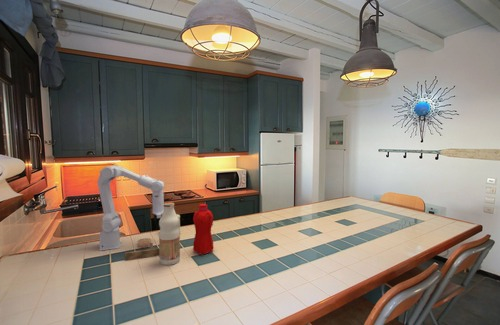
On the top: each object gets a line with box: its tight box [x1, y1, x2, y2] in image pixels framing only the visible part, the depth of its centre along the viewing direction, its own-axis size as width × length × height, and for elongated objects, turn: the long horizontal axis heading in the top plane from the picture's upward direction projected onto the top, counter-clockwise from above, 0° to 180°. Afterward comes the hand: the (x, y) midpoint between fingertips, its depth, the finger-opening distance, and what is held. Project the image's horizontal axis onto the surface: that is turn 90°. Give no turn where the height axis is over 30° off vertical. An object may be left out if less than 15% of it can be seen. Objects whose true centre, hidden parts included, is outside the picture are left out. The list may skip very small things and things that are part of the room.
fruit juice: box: [158, 202, 181, 266], centre depth 121 cm, size 9×9×28 cm
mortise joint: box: [124, 242, 159, 261], centre depth 129 cm, size 16×9×4 cm, turn 111°
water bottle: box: [192, 203, 214, 255], centre depth 133 cm, size 9×11×25 cm
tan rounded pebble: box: [137, 237, 151, 249], centre depth 140 cm, size 6×6×3 cm
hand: (158, 227), depth 139 cm, fingers open, 7 cm apart
